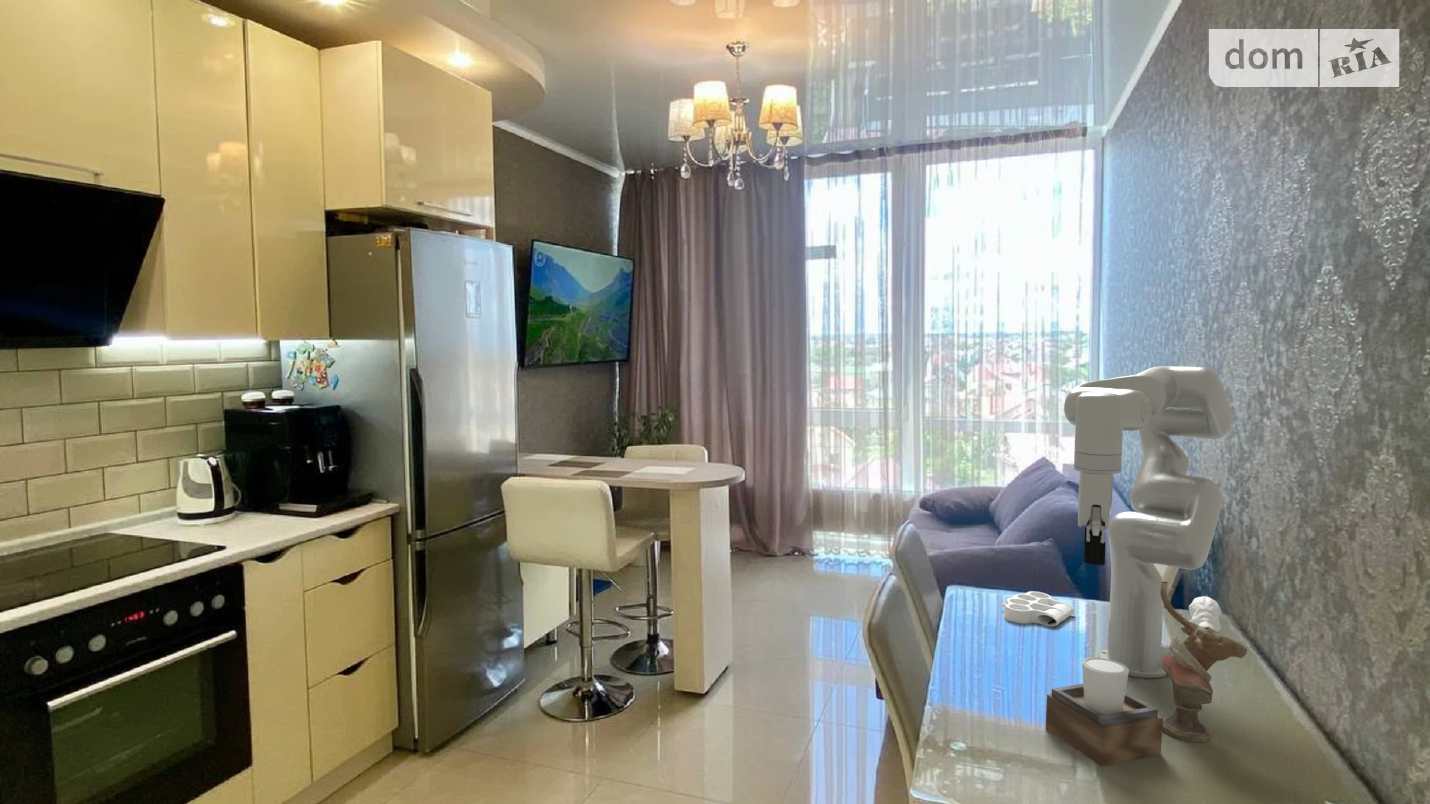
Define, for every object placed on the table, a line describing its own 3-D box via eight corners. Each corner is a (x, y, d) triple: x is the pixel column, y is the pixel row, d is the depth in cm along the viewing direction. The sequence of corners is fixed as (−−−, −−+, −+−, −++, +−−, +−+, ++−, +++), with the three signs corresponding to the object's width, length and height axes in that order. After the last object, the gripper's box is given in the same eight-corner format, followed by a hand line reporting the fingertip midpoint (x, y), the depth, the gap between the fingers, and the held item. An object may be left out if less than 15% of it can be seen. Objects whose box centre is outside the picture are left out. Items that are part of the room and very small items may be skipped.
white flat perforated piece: (1051, 633, 175) (989, 617, 185) (1078, 614, 188) (1019, 600, 198) (1052, 619, 174) (989, 603, 184) (1079, 600, 187) (1019, 587, 198)
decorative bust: (1262, 737, 125) (1242, 586, 125) (1198, 756, 122) (1178, 602, 122) (1206, 712, 136) (1187, 573, 136) (1146, 729, 133) (1126, 587, 133)
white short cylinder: (1132, 719, 121) (1134, 676, 121) (1085, 713, 123) (1087, 671, 122) (1120, 699, 128) (1122, 659, 127) (1075, 695, 129) (1077, 654, 129)
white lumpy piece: (1222, 596, 174) (1225, 616, 164) (1219, 631, 175) (1222, 654, 165) (1189, 591, 177) (1190, 611, 167) (1187, 625, 179) (1188, 647, 168)
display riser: (1101, 718, 134) (1103, 678, 133) (1160, 753, 122) (1163, 710, 122) (1045, 728, 130) (1047, 687, 129) (1101, 765, 118) (1103, 720, 118)
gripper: (1074, 453, 145) (1071, 541, 146) (1073, 469, 129) (1070, 567, 131) (1119, 455, 141) (1116, 546, 143) (1123, 472, 126) (1119, 573, 128)
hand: (1094, 556), depth 137 cm, fingers open, 9 cm apart
